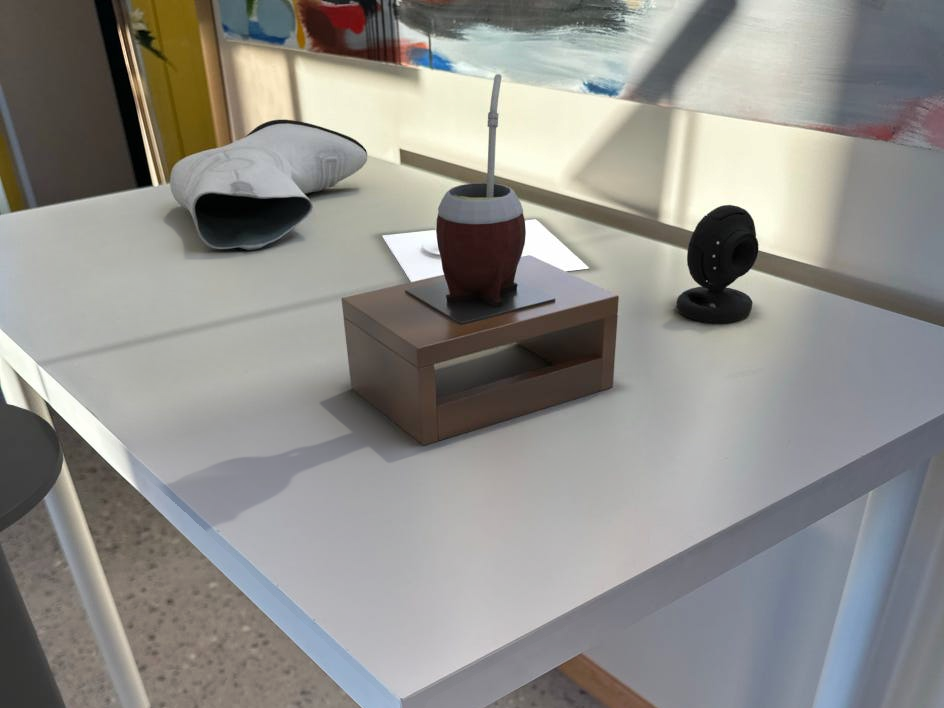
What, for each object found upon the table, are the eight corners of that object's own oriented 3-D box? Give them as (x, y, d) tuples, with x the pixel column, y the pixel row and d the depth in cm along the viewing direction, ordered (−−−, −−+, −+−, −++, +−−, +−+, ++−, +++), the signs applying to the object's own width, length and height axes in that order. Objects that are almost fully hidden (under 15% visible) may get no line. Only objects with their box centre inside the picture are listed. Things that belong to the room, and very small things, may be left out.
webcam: (709, 330, 94) (723, 222, 87) (659, 307, 99) (669, 203, 92) (768, 313, 97) (786, 207, 91) (716, 292, 102) (730, 190, 95)
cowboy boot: (156, 141, 128) (174, 189, 109) (356, 103, 133) (405, 144, 115) (177, 215, 134) (197, 273, 116) (368, 177, 139) (416, 226, 121)
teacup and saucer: (486, 234, 119) (485, 199, 116) (503, 254, 113) (503, 217, 110) (416, 242, 117) (413, 206, 115) (430, 262, 111) (428, 225, 109)
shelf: (351, 388, 85) (340, 295, 80) (528, 339, 93) (529, 252, 88) (423, 445, 77) (416, 345, 72) (613, 387, 84) (619, 292, 79)
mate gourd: (461, 316, 76) (453, 101, 66) (422, 286, 81) (409, 83, 72) (545, 300, 78) (549, 89, 69) (501, 271, 84) (499, 73, 74)
